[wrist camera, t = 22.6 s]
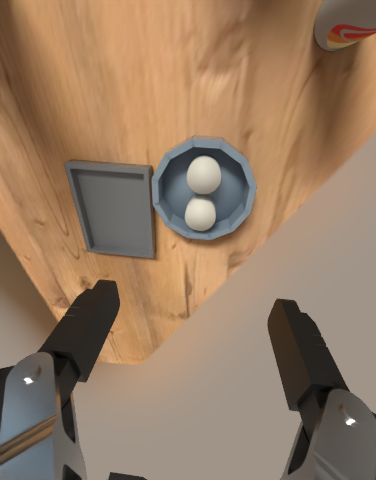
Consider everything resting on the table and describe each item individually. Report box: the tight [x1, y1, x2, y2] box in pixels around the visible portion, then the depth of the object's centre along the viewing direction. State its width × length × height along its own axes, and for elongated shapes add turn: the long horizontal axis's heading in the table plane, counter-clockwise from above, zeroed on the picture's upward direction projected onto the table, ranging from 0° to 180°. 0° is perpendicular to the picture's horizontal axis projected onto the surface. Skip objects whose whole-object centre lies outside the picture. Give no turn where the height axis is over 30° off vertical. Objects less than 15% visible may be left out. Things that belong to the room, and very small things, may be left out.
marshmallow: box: [187, 154, 221, 194], centre depth 31 cm, size 5×5×4 cm
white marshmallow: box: [185, 194, 216, 231], centre depth 35 cm, size 5×5×4 cm
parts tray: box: [64, 160, 156, 258], centre depth 39 cm, size 14×18×2 cm
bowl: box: [152, 135, 257, 240], centre depth 34 cm, size 16×16×4 cm
